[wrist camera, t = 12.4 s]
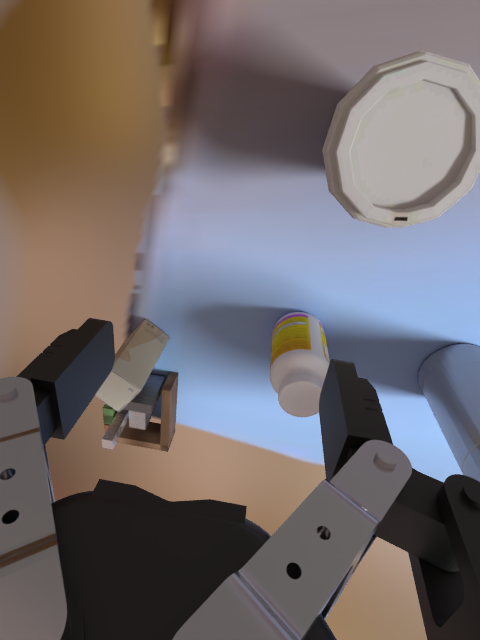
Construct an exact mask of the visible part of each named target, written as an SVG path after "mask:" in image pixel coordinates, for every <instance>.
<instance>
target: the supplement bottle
mask: <svg viewBox="0 0 480 640" xmlns="http://www.w3.org/2000/svg"><path fill="white" fill-rule="evenodd" d="M329 364H330V359H329V353H328V348H327V342H326V336H325V332H324V328H323V326H322V324H321V322H320V321H319V320H318V319H317V318H316V317H314V316H313V315H311V314H308V313H305V312H293V313H289V314H286V315H285V316H283V317H281V318H280V319H279V320H278V321H277V323H276V324H275V326H274V328H273V333H272V348H271V366H270V381H271V384H272V386H273V388H274V390H275V391H276V392H277V393H278V400H279V404H280V406H281V407H282V409H283V410H284V411H285V412H287V413H288V414H290V415H293V416H297V417H308V416H312V415H315V414H317V413H318V412H319V399H320V393H321V390H322V387H323V383H324V380H325V377H326V373H327V370H328V367H329Z"/></svg>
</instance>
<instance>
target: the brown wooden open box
mask: <svg viewBox="0 0 480 640" xmlns="http://www.w3.org/2000/svg"><path fill="white" fill-rule="evenodd" d="M177 386H178V373H175V372H170V373H169V375H168V377H167V379H166V382H165V384H164V386H163V388H162V399H161V424H159V423H153V422H149V423H148V425H147V428H146V430H143V429H138V428H132V427H129V419H128V421H127V423H126V425H125V427H124V429H123V431H122V433H121V435H120V437H119V438H118V440H117V442H118V443H124V444H129V445H135V446H140V447H145V448H151V449H156V450H161V451H167V452H168V450H169V447H170V444H171V442H172V439H173V436H174V433H175V422H176V404H177ZM117 412H118V411H116V410H115V409H113V408H112V407H110V406H109V405H107V404H105V405H104V407H103V417H104V423H105V424H104V429H105V433H106V431H107V429H108V428H109V426H110V424H111V422H112V421H113V419H114V417H115V415H116V414H117Z"/></svg>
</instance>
